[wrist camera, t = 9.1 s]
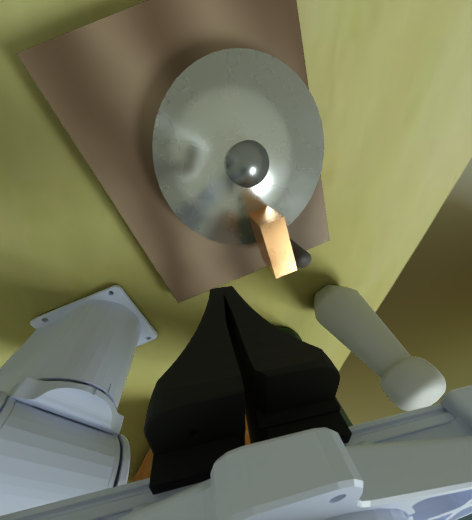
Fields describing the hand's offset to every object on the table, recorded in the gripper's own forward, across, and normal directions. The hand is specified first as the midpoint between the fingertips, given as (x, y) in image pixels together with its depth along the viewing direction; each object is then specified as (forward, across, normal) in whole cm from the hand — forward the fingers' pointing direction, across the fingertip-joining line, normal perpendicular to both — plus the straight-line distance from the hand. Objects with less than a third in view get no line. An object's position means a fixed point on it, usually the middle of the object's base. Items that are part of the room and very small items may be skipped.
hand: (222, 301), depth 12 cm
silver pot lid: (+8, -3, -6) cm, 11 cm away
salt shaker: (+10, -14, +9) cm, 20 cm away
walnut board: (+9, -1, -7) cm, 12 cm away
